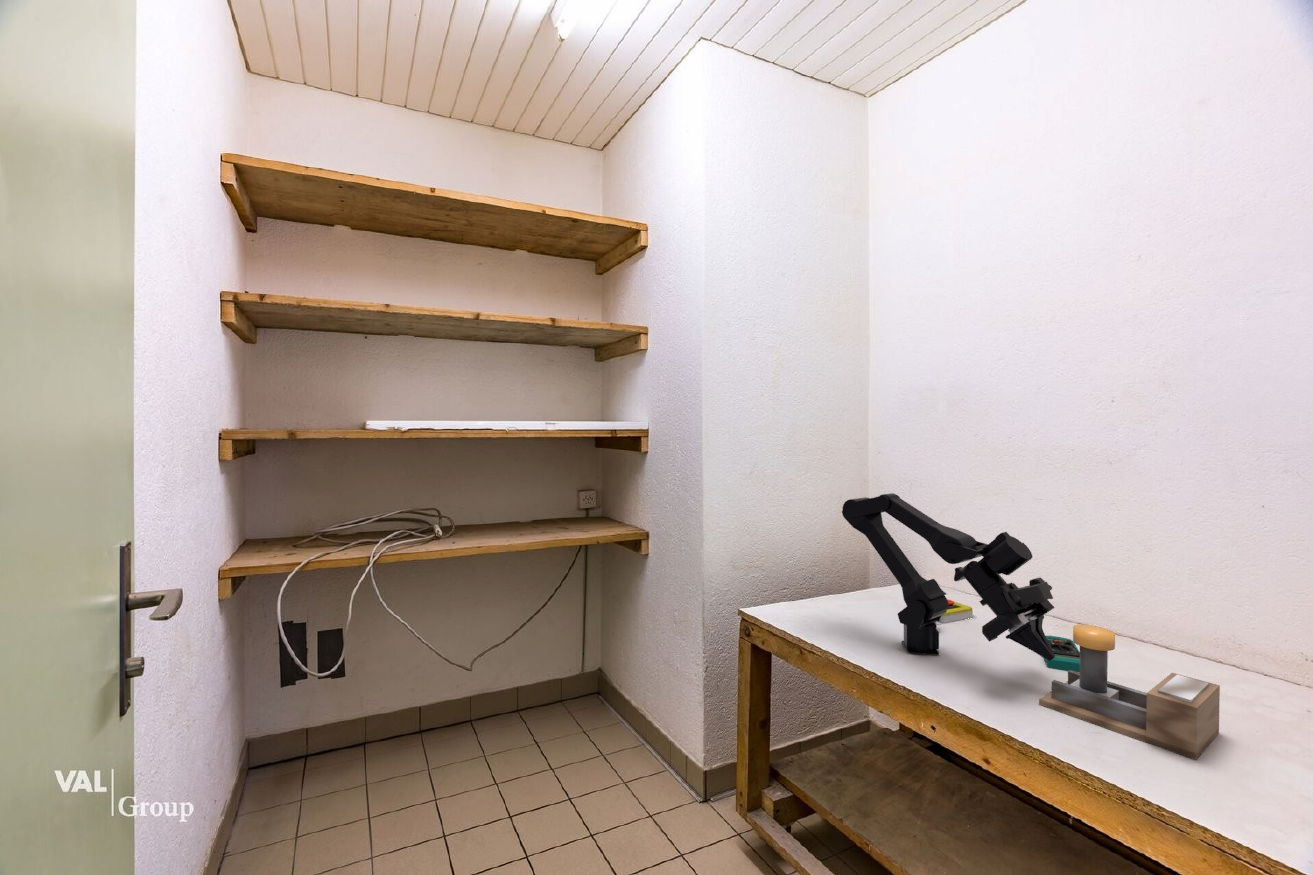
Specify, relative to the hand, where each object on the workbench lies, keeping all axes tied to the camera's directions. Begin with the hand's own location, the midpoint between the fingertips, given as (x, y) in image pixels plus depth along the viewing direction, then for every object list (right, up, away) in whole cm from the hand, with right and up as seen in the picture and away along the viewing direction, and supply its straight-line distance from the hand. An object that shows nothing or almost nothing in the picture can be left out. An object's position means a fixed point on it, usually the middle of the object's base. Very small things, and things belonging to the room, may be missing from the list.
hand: (1052, 659), depth 109 cm
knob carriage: (+4, -6, -5) cm, 8 cm away
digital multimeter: (+13, -7, +17) cm, 22 cm away
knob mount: (+6, -7, -9) cm, 13 cm away
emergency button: (+1, -6, +45) cm, 45 cm away
